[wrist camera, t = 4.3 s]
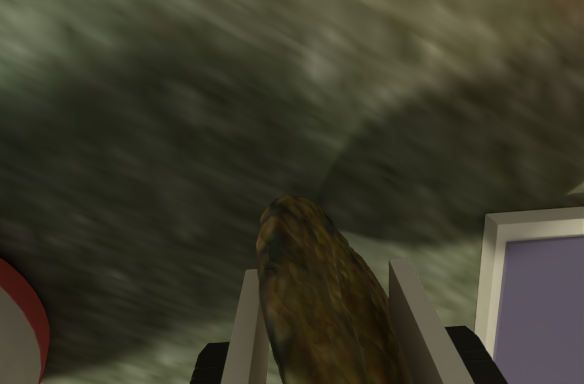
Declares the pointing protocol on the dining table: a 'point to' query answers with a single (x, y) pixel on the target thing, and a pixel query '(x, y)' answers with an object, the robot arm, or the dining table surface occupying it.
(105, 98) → the dining table surface
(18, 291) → the citrus juicer
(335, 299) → the brown mottled tapered part
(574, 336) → the ink pad
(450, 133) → the dining table surface
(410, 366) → the robot arm
